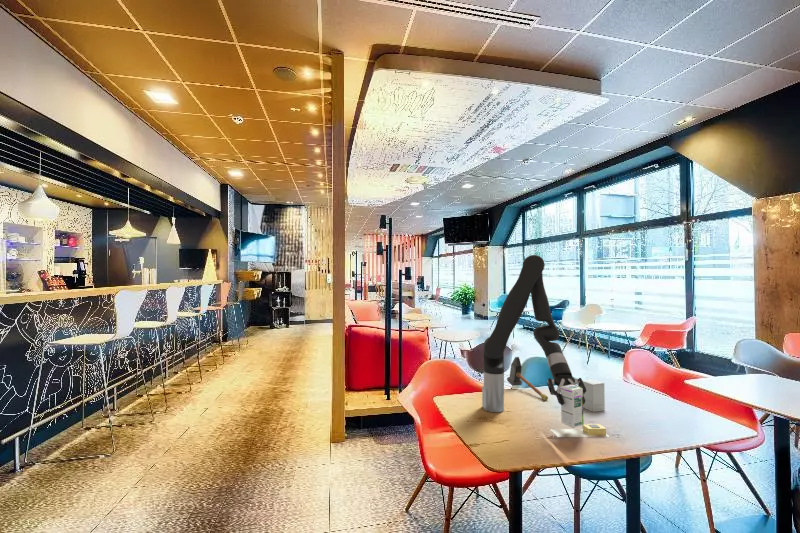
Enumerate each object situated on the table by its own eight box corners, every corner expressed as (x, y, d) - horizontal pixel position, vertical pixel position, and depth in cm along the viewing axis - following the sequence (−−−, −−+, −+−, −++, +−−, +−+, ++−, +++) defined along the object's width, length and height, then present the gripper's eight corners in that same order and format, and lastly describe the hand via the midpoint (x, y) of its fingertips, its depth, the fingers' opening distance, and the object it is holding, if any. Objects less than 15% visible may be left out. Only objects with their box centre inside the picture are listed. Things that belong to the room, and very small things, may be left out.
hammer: (543, 382, 179) (510, 355, 208) (538, 411, 182) (506, 381, 211) (553, 381, 181) (519, 355, 209) (548, 410, 184) (515, 380, 212)
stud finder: (588, 435, 140) (588, 428, 140) (582, 430, 144) (582, 423, 144) (606, 434, 140) (606, 428, 140) (600, 430, 144) (600, 423, 144)
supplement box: (605, 410, 169) (605, 382, 169) (593, 412, 167) (592, 384, 167) (592, 404, 176) (592, 378, 176) (580, 406, 174) (580, 379, 174)
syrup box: (574, 428, 138) (573, 390, 138) (560, 422, 143) (560, 385, 143) (583, 425, 140) (583, 387, 141) (570, 420, 146) (570, 383, 146)
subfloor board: (562, 445, 134) (562, 441, 134) (545, 428, 148) (545, 425, 148) (615, 444, 135) (615, 440, 135) (594, 428, 149) (594, 425, 149)
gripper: (544, 361, 150) (558, 400, 138) (578, 361, 150) (595, 399, 139) (539, 371, 155) (551, 408, 143) (572, 370, 156) (587, 408, 144)
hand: (573, 404), depth 141 cm, fingers closed on syrup box, 7 cm apart
